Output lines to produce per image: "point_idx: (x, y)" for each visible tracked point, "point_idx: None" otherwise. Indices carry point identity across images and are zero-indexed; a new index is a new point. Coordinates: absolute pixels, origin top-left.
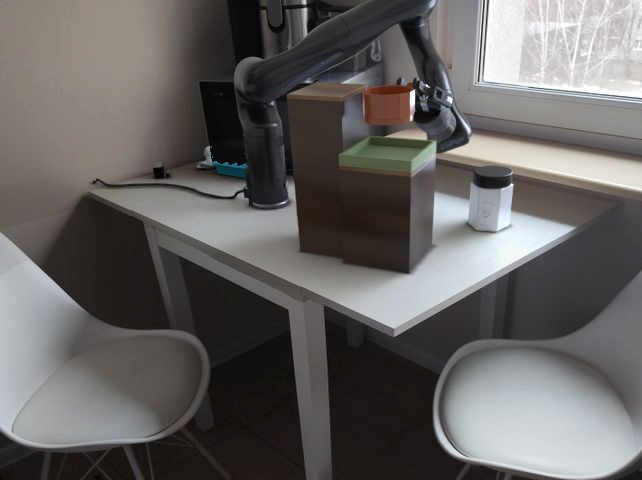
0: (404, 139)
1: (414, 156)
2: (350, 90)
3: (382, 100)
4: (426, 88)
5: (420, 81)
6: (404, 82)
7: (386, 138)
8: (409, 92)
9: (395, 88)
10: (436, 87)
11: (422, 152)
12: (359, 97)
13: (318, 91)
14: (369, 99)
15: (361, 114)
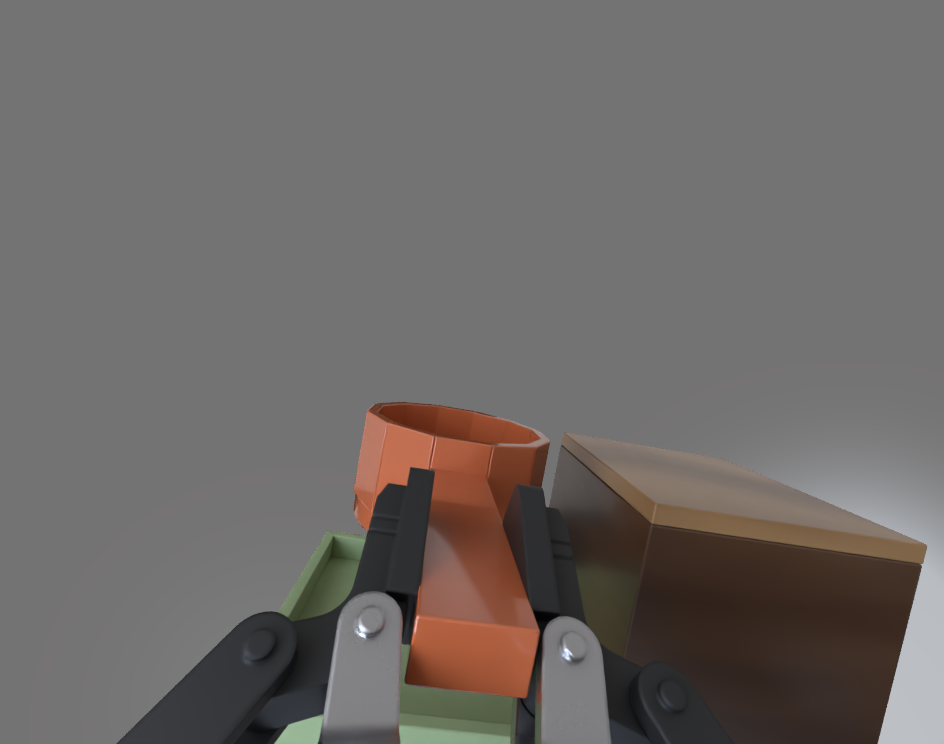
0: (400, 714)
1: (322, 550)
2: (609, 458)
3: (443, 419)
4: (339, 611)
5: (386, 489)
6: (517, 540)
7: (496, 724)
8: (377, 403)
9: (466, 451)
10: (232, 638)
11: (298, 579)
12: (604, 503)
13: (689, 464)
14: (486, 428)
15: (597, 578)
